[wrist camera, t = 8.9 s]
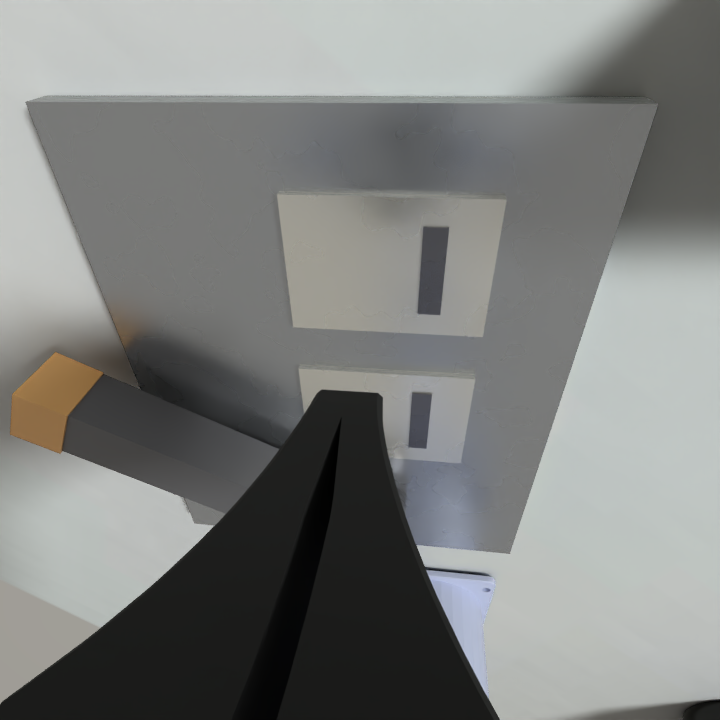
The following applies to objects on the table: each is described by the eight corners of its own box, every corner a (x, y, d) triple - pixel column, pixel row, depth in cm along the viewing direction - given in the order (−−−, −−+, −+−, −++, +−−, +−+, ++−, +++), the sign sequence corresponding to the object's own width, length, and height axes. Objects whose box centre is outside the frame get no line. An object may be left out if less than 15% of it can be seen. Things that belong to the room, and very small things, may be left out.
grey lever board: (507, 537, 27) (520, 631, 23) (201, 508, 29) (164, 591, 25) (645, 97, 13) (735, 142, 9) (46, 95, 15) (-89, 133, 11)
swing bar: (358, 481, 23) (351, 530, 20) (335, 507, 24) (326, 556, 22) (55, 351, 20) (12, 394, 18) (50, 391, 21) (10, 434, 19)
